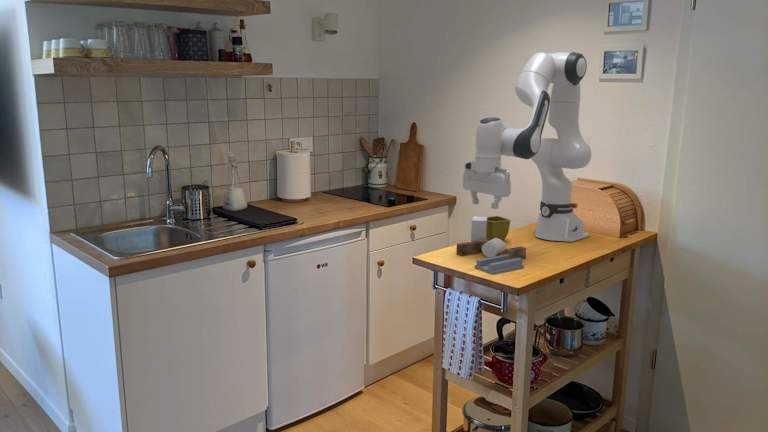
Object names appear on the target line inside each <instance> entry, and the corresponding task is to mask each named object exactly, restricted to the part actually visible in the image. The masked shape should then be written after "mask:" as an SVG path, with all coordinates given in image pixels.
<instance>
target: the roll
mask: <svg viewBox="0 0 768 432" xmlns="http://www.w3.org/2000/svg"><path fill="white" fill-rule="evenodd" d="M505 249H507V244H506V243H505V241H502V240H501V239H498V238H494V239H492V240H490V241H488V242H487V243H485V244H484V245H483V246H482V254H483V255H484V256H485V257H486V258H489V257H495V256H498V255H499V254H500V253H503V251H505Z"/></svg>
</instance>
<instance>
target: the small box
mask: <svg viewBox="0 0 768 432" xmlns="http://www.w3.org/2000/svg"><path fill="white" fill-rule="evenodd" d="M487 217H488V216H475V215H474V216H472V220H471V226H470V228H471V229H470V230H471V233H470V242H471V241H477V240H483V239H486V236H487Z"/></svg>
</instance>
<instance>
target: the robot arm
mask: <svg viewBox="0 0 768 432" xmlns="http://www.w3.org/2000/svg"><path fill="white" fill-rule="evenodd" d="M587 67H588V63H587V59H586V58H585V55H583V54H582V53H579V52H576V51H575V52H574V51H572V52H567V51H566V52H564V51H556V52H550V53H548V52H542V51H541V52H536V53H534V54H533V55H532V56H531V57H530V58H529V60H528V61H527V62H526V64H525V65H524V67H522V70H521V72H520V74H519V75H518V78H517V79H516V81H515V84H514V85H515V87H514V90H515V94H516V96H517V98H518V99H519V101H521V102H522V103H523V104H524V105H526V106H528V107H530V108H532V109H531V113H530V116H529V120H528V122H527V125H526V126H525V127H523V128H513V127H508V126H506V125H505V124H503V122H502V119H501V118H499V117H486V118H485V117H484V118H482V119H479V121H478V124H477V128H476V134H475V135H476V136H475V148H476V151H475V154H474V160H470V161H467V162H465V163H463V169H464V170H463V174H462V175H463V176H462V187H463V189H464V190H467V191H470V193H469V194H470V196H471V199H472V202H471V203H472V205H479V203H480V199H479V198H478V193H480V194H486V195H490V196H493V200H494V201H493V202H491V209H494V210H498V209H499V204H500V202H501V201H502V198H508V197H510V195H511V193H512V192H511V191H512V188H511V187H512V186H511V185H512V183H511V175H510V174H511V173H510V172H509V171H508V170H507V169H506V168H501V167H502V166H501V165H502V156H505V157H512V158H513V157H514V158H518V159H524V160H532V161H533V163H534V164H535V165H536V166H537V169H538V170H539V174H540V176H541V177H540V178H541V182H542V184H541V185H542V187H541V188H542V190H541V201H540V203H539V210H540V212H539V214H538V218H537V224H536V229H535V230H534V233H535V236H534V237H536V238H538V239H541V240H547V241H554V242H555V241H556V242H567V243H568V242H571V243H573V242H577V241H580V240H581V239H585V238H587V237H590V233H588V232H586V231H584V221H582V219H581V218H580V217H579V216H577V214H576V213H574V209H578V205H579V204H578V203H574V202H572V190H573V189H572V188H573V185H572V182H571V180H570V179H569V178H568V177H566V175H565V173H564V171H563V169H570V170H575V169H576V170H578V169H584V168H585V167H587V166H588V165H589V164H590V162H591V158H592V149H591V147H590V145H589V144H588V143H587V142H586V141H585V140H584V138H583V136H582V133H581V130H580V126H579V122H580V121H579V116H580V104H581V81H582V80H583V79H584V77H585V75H586V73H587V69H588V68H587ZM551 84H552V88H551V93H550V94H549V93H548V89H549V86H550V85H551ZM547 116H548V119H547ZM547 120H548V124H549V125H550V126H551V127H552V129H554V130H555V132H556V134H557V138H555V137H554V138H553V137H545V138H542V134H543V130H544V127H545V124H546V121H547Z"/></svg>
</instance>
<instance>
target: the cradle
mask: <svg viewBox="0 0 768 432" xmlns="http://www.w3.org/2000/svg"><path fill="white" fill-rule="evenodd" d="M524 268H525V266H524V264H523V260H522V259H521V258H516V259H511V260H510V255H508V254H505V255H504V254H502V255H501V254H500V255H496V256H494V257H486V258H480V259H476V264H475V265H474V269H476V270H478V271H481V272H484V273H487V274H490V275H492V276H494V275H499V274H502V273H507V272H513V271H516V270H521V269H524Z"/></svg>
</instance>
